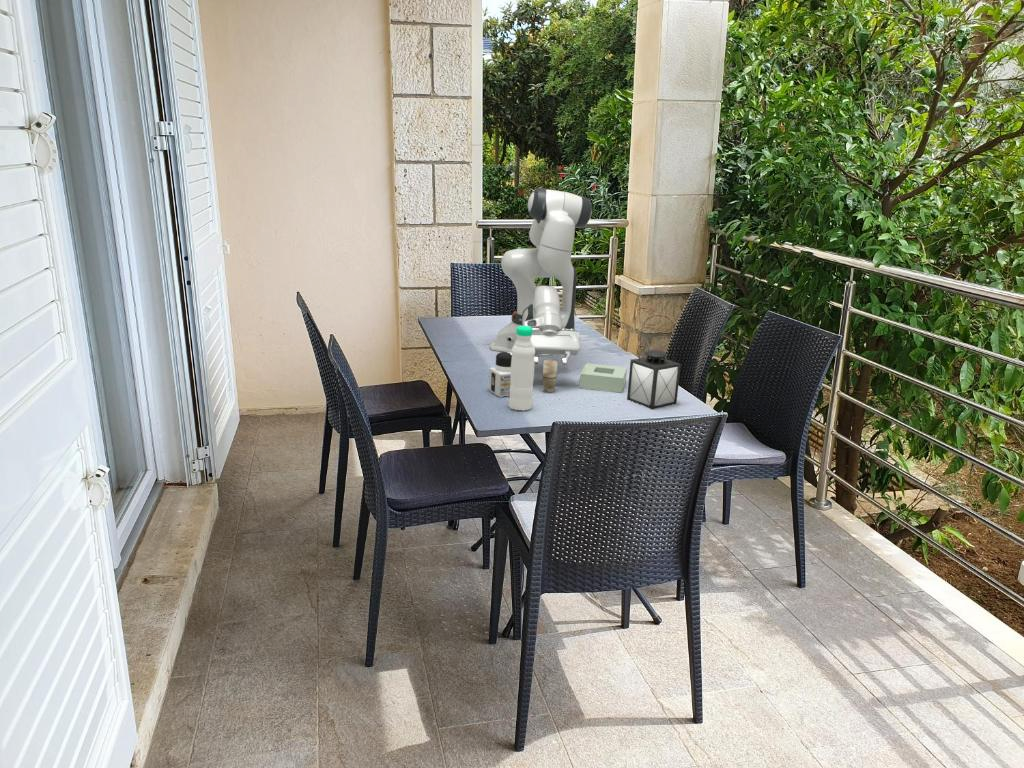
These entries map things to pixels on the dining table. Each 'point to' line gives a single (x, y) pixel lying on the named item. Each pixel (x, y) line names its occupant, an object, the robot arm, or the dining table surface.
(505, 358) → the container
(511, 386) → the water bottle
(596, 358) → the dining table surface
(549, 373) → the peg
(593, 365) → the hole block
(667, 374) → the lantern
